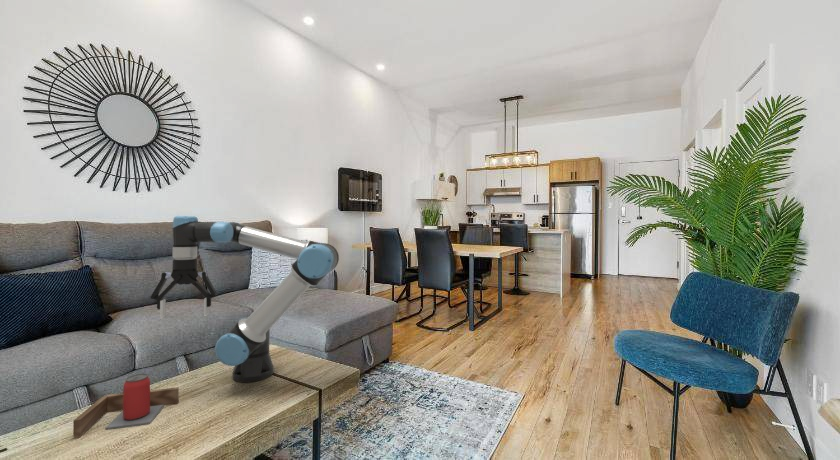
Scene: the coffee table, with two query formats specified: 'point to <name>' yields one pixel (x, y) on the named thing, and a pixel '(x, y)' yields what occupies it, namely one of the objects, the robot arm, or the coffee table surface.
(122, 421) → the coaster
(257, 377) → the robot arm
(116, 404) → the wooden corner frame
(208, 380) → the coffee table surface
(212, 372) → the coffee table surface
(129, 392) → the beer can
